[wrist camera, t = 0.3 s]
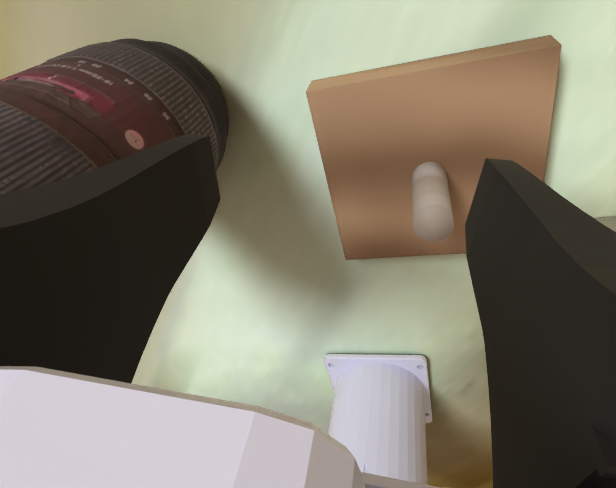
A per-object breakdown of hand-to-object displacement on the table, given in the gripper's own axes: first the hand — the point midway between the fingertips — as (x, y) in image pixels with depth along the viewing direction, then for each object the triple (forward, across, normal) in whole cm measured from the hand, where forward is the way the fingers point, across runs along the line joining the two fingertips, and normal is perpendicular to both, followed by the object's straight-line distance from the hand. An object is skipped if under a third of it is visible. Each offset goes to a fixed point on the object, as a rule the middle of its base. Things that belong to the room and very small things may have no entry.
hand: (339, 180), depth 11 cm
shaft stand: (+10, -4, +4) cm, 11 cm away
